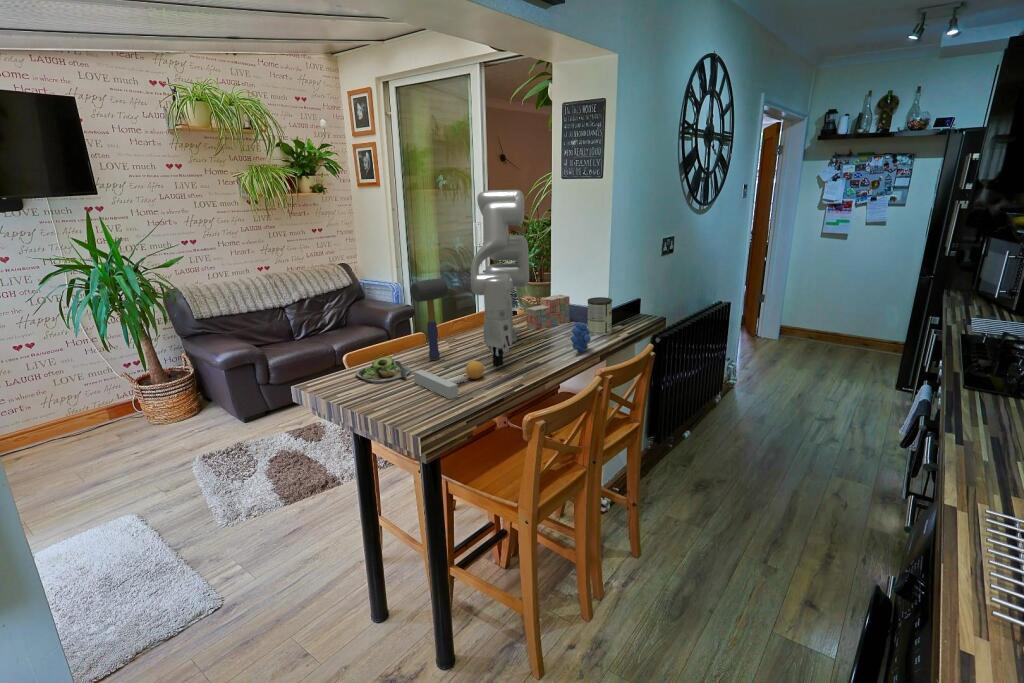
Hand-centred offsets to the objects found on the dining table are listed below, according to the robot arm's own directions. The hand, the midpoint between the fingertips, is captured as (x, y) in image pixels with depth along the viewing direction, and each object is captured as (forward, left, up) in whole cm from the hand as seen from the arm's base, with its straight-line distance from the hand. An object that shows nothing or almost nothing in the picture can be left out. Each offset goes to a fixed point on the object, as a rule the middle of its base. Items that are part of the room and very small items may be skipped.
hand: (498, 365), depth 182 cm
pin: (+15, 0, 0) cm, 15 cm away
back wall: (+26, 0, -2) cm, 26 cm away
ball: (+11, +1, +2) cm, 11 cm away
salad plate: (+30, -26, -2) cm, 40 cm away
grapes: (-34, +9, -2) cm, 35 cm away
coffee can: (-61, -5, -2) cm, 61 cm away
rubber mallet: (+9, -26, -2) cm, 28 cm away
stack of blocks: (-55, -30, -2) cm, 63 cm away
